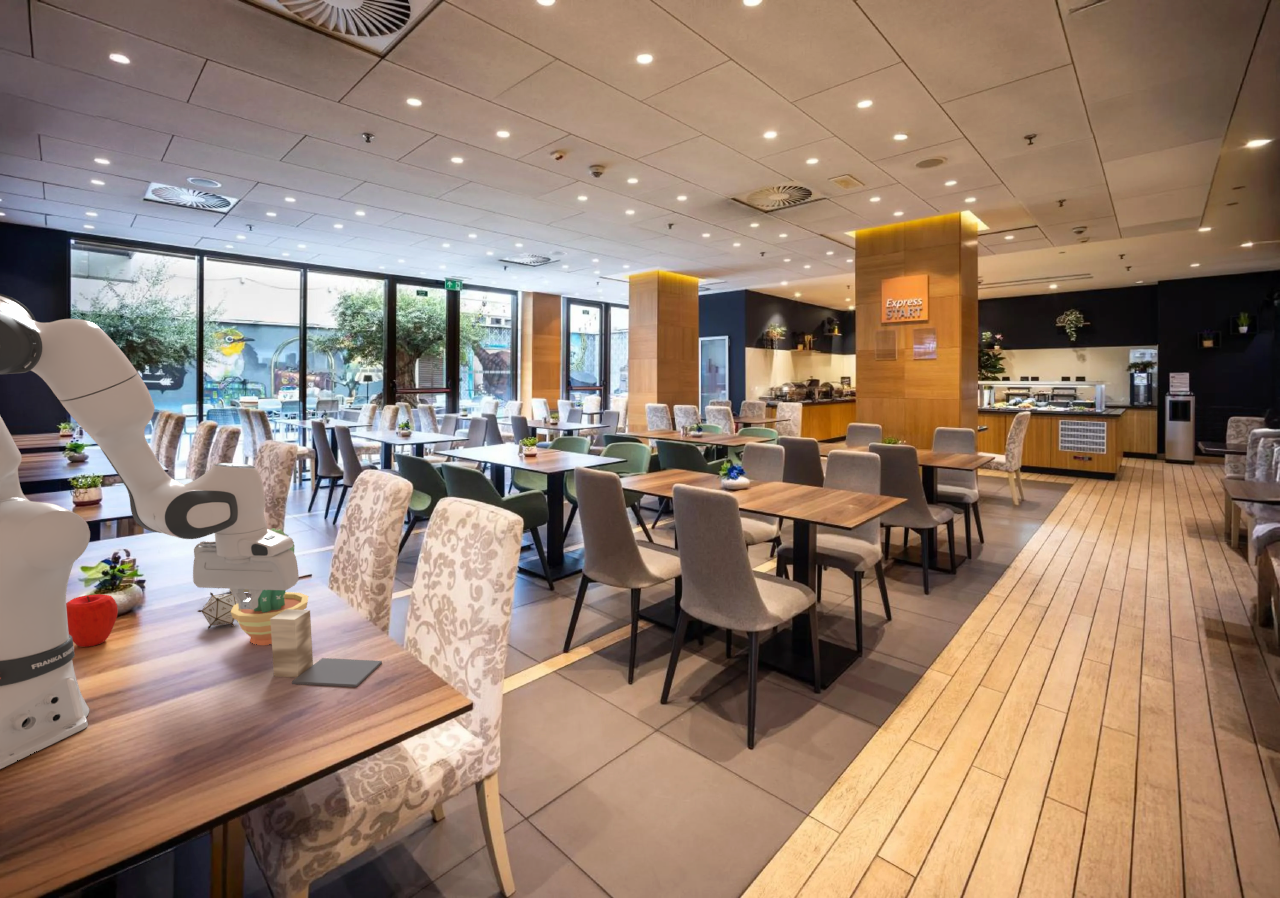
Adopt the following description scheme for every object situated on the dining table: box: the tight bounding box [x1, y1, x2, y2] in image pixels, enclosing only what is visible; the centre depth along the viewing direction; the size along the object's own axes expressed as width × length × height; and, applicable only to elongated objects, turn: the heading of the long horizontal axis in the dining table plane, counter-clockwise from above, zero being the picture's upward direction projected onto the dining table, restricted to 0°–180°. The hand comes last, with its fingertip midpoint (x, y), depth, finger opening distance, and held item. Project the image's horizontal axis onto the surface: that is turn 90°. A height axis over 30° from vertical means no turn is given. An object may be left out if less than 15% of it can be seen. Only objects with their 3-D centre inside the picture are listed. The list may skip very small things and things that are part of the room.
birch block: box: [270, 609, 314, 679], centre depth 123 cm, size 5×5×12 cm
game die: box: [197, 592, 238, 630], centre depth 145 cm, size 9×8×10 cm
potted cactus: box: [231, 527, 309, 646], centre depth 138 cm, size 15×15×25 cm
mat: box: [291, 657, 383, 688], centre depth 123 cm, size 10×13×1 cm
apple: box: [66, 593, 119, 648], centre depth 135 cm, size 9×9×11 cm
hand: (248, 608), depth 123 cm, fingers closed
